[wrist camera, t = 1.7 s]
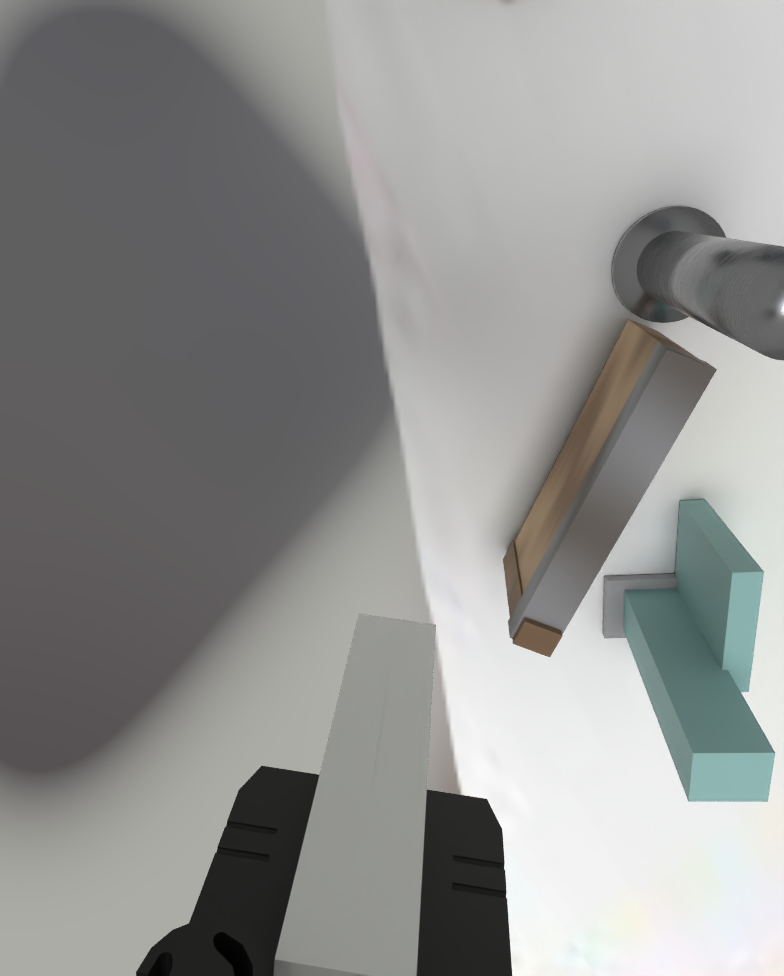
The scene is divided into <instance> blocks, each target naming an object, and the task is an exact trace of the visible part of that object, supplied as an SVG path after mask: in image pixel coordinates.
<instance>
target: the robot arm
mask: <svg viewBox="0 0 784 976" xmlns="http://www.w3.org/2000/svg"><path fill="white" fill-rule="evenodd" d="M435 631H436V625H433V624H426V623H419V622H413V621H406V620H399V619H392V618H386V617H379V616H372V615H364V614H359V615H358V619H357V623H356V627H355V631H354V636H353V640H352V644H351V648H350V652H349V656H348V661H347V664H346V669H345V673H344V677H343V681H342V685H341V689H340V693H339V697H338V701H337V705H336V710H335V713H334V718H333V722H332V726H331V730H330V734H329V738H328V742H327V746H326V751H325V755H324V759H323V763H322V767H321V771H320V775H317V774H311V773H304V772H298V771H292V770H285V769H279V768H272V767H266V766H261V767H260V768H259V769H258V770H257V771H256V773H255V774H254V775H253V776H252V777H251V778H250V779H249V780H248V781H247V782H246V783H245V784H244V785H243V786H242V787H241V788H240V790H239V791H238V794H237V797H236V799H235V802H234V805H233V808H232V810H231V813H230V815H229V818H228V821H227V826H226V827H225V829H224V831H223V834H222V837H221V839H220V842H219V845H218V849H217V853H215V855H214V858H213V861H212V863H211V866H210V869H209V871H208V874H207V877H206V879H205V882H204V885H203V888H202V890H201V893H200V896H199V898H198V901H197V904H196V906H195V909H194V912H193V915H192V917H191V920H190V922H189V924H187V925H184V926H182V927H179V928H176V929H174V930H172V931H171V932H170V933H168V934H167V935H166V936H165V937H164V938H163V939H161V940H160V941H159V942H158V943H157V944H155V945H154V946H153V947H152V948H151V949H150V951H149V952H148V954H147V956H146V957H145V959H144V961H143V962H142V964H141V965H140V967H139V969H138V970H137V972H136V976H512V967H511V952H510V938H509V923H508V908H507V898H506V879H505V870H504V850H503V835H502V828H501V826H500V824H499V822H498V820H497V818H496V816H495V814H494V812H493V810H492V808H491V806H490V804H489V803H488V801H487V799H483V798H477V797H470V796H464V795H457V794H451V793H444V792H438V791H432V790H427V776H428V758H429V740H430V721H431V704H432V684H433V667H434V649H435Z"/></svg>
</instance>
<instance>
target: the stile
mask: <svg viewBox="0 0 784 976" xmlns="http://www.w3.org/2000/svg"><path fill="white" fill-rule="evenodd" d="M763 574H764V571H763V570H762V569H761V568H760V566H759V565H758V564H757V563H756V561H755V560H754V559H753V558H752V557H751V555H750V554H749V553H748V552H747V550H746V549H745V548H744V547H743V545H742V544H741V543H740V542H739V541H738V539H737V538H736V537H735V536H734V534H733V533H732V532H731V531H730V530H729V528H728V527H727V526H726V525H725V523H724V522H723V521H722V520H721V518H720V517H719V516H718V515H717V514H716V512H715V511H714V510H713V509H712V507H711V506H710V505H709V504H708V502H707V501H706V500H705V499H701V500H681V501H680V506H679V520H678V534H677V549H676V563H675V574H650V575H623V576H604V603H603V635H604V638H627V640H628V643H629V646H630V648H631V651H632V653H633V656H634V659H635V661H636V664H637V667H638V669H639V672H640V675H641V677H642V680H643V683H644V685H645V688H646V690H647V693H648V696H649V698H650V701H651V704H652V706H653V709H654V712H655V714H656V717H657V719H658V722H659V725H660V727H661V730H662V733H663V735H664V738H665V741H666V743H667V746H668V748H669V751H670V754H671V756H672V759H673V762H674V764H675V767H676V770H677V772H678V775H679V778H680V780H681V783H682V785H683V788H684V791H685V793H686V796H687V799H688V801H763V802H768V796H769V790H770V783H771V776H772V770H773V763H774V757H775V752H774V750H773V748H772V746H771V745H770V743H769V741H768V739H767V738H766V736H765V734H764V732H763V731H762V729H761V727H760V725H759V724H758V722H757V720H756V718H755V717H754V715H753V713H752V711H751V710H750V708H749V706H748V704H747V702H746V701H745V699H744V697H743V695H742V694H741V692H749V684H750V677H751V669H752V661H753V653H754V645H755V637H756V629H757V621H758V614H759V606H760V598H761V590H762V582H763Z"/></svg>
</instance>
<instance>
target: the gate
mask: <svg viewBox="0 0 784 976" xmlns="http://www.w3.org/2000/svg"><path fill="white" fill-rule="evenodd" d="M716 370H717V369H715V368H714V367H712V366H711V365H709V364H708V363H706V362H705V361H702V360H700V359H698V358H697V357H695V356H694V355H692V354H691V353H689V352H688V351H686V350H685V349H683V348H682V347H680V346H679V345H677V344H676V343H674V342H673V341H671V340H670V339H668V338H667V337H665V336H664V335H663V334H661V333H660V332H658V331H656V330H653V329H651V328H648V327H646V326H643V325H641V324H638V323H636V322H633V321H631V320H628V321H627V323H626V325H625V327H624V329H623V331H622V333H621V335H620V336H619V338H618V340H617V342H616V344H615V346H614V348H613V350H612V352H611V354H610V356H609V358H608V360H607V362H606V364H605V366H604V368H603V370H602V372H601V374H600V376H599V378H598V380H597V382H596V383H595V385H594V387H593V389H592V391H591V393H590V395H589V397H588V399H587V401H586V403H585V405H584V407H583V409H582V411H581V413H580V415H579V417H578V419H577V421H576V423H575V425H574V427H573V428H572V430H571V432H570V434H569V436H568V438H567V440H566V442H565V444H564V446H563V448H562V450H561V452H560V454H559V456H558V458H557V460H556V462H555V464H554V466H553V468H552V470H551V472H550V473H549V475H548V477H547V479H546V481H545V483H544V485H543V487H542V489H541V491H540V493H539V495H538V497H537V499H536V501H535V503H534V505H533V507H532V509H531V511H530V513H529V515H528V517H527V519H526V520H525V522H524V524H523V526H522V528H521V530H520V532H519V534H518V536H517V538H516V540H515V541H512V543H511V545H510V547H509V549H508V551H507V553H506V555H505V557H504V559H503V563H504V571H505V579H506V588H507V596H508V605H509V613H510V619H509V621H508V625H509V634H510V638H512V639H513V644H515V645H518V646H521V647H524V648H526V649H529V650H532V651H534V652H537V653H540V654H542V655H545V656H548V657H550V656H551V654H552V653H553V651H554V649H555V648H556V646H557V644H558V642H559V641H560V639H561V637H562V636H563V635H562V634H563V632H564V631H565V629H566V627H567V625H568V624H569V622H570V620H571V619H572V617H573V615H574V613H575V612H576V610H577V608H578V607H579V605H580V603H581V601H582V600H583V598H584V596H585V595H586V593H587V591H588V589H589V588H590V586H591V584H592V583H593V581H594V579H595V577H596V576H597V574H598V572H599V571H600V569H601V567H602V565H603V564H604V562H605V560H606V558H607V557H608V555H609V553H610V552H611V550H612V548H613V546H614V545H615V543H616V541H617V540H618V538H619V536H620V534H621V533H622V531H623V529H624V528H625V526H626V524H627V522H628V521H629V519H630V517H631V516H632V514H633V512H634V510H635V509H636V507H637V505H638V504H639V502H640V500H641V498H642V497H643V495H644V493H645V492H646V490H647V488H648V486H649V485H650V483H651V481H652V480H653V478H654V476H655V474H656V473H657V471H658V469H659V468H660V466H661V464H662V462H663V461H664V459H665V457H666V456H667V454H668V452H669V450H670V449H671V447H672V445H673V444H674V442H675V440H676V438H677V437H678V435H679V433H680V432H681V430H682V428H683V426H684V425H685V423H686V421H687V420H688V418H689V416H690V414H691V413H692V411H693V409H694V408H695V406H696V404H697V402H698V401H699V399H700V397H701V396H702V394H703V392H704V390H705V389H706V387H707V385H708V384H709V382H710V380H711V378H712V377H713V375H714V373H715V372H716Z"/></svg>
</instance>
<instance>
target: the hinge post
mask: <svg viewBox="0 0 784 976" xmlns="http://www.w3.org/2000/svg"><path fill="white" fill-rule="evenodd" d="M612 281H613V286H614V289H615V292H616V294H617V296H618V298H619V299H620V301H621V302H622V303H623V305H624V306H625V307H626V308H627V309H629V310H630V311H631V312H632V313H634V314H635V315H637V316H639V317H641V318H643V319H645V320H649V321H652V322H660V323H665V322H675V321H679V320H682V319H685V318H687V317H691V318H693V319H695V320H697V321H699V322H701V323H703V324H705V325H707V326H709V327H711V328H713V329H715V330H716V331H718V332H720V333H722V334H724V335H726V336H728V337H730V338H732V339H734V340H736V341H738V342H740V343H742V344H744V345H746V346H747V347H749V348H751V349H753V350H755V351H757V352H759V353H761V354H763V355H765V356H767V357H770V358H773V359H777V360H784V247H782V246H775V245H769V244H762V243H756V242H749V241H742V240H736V239H729V238H726V236H725V234H724V232H723V230H722V228H721V227H720V225H719V224H718V223H717V222H716V221H715V220H714V219H713V218H712V217H711V216H709V215H708V214H706V213H704V212H702V211H700V210H698V209H694V208H690V207H681V206H676V207H666V208H662V209H658V210H655V211H653V212H651V213H649V214H647V215H645V216H644V217H642V218H641V219H639V220H638V221H637V222H635V223H634V224H633V225H632V226H631V227H630V228H629V229H628V231H627V232H626V233H625V234H624V236H623V237H622V239H621V240H620V242H619V244H618V246H617V248H616V251H615V254H614V258H613V262H612Z"/></svg>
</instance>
